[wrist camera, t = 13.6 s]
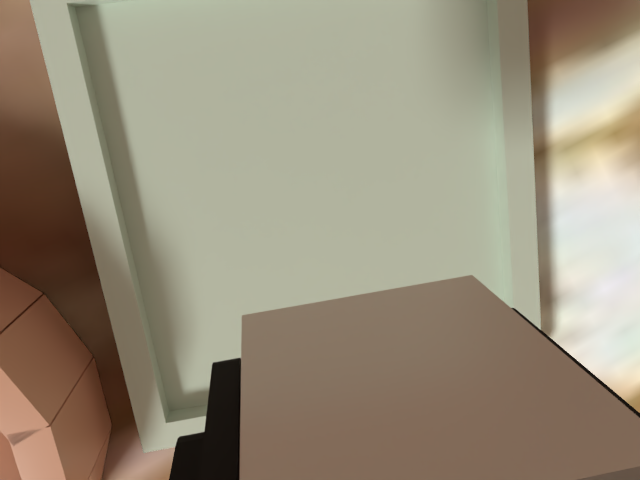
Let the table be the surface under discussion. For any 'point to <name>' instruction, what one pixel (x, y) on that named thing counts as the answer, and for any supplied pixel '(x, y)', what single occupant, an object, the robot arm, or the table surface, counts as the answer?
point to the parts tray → (287, 165)
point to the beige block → (422, 394)
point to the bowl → (47, 392)
